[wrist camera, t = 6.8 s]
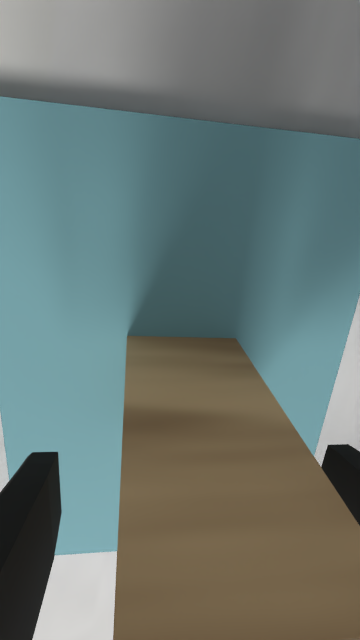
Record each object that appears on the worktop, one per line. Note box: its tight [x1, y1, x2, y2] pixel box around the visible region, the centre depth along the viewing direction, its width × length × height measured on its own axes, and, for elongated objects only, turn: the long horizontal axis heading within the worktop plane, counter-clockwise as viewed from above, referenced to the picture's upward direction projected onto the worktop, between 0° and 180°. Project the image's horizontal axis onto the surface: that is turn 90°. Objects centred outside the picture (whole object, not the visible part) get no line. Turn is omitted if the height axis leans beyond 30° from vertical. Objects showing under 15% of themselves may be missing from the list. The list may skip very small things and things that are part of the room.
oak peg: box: [113, 336, 360, 640], centre depth 9 cm, size 4×4×9 cm
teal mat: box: [0, 96, 360, 555], centre depth 13 cm, size 18×13×1 cm
